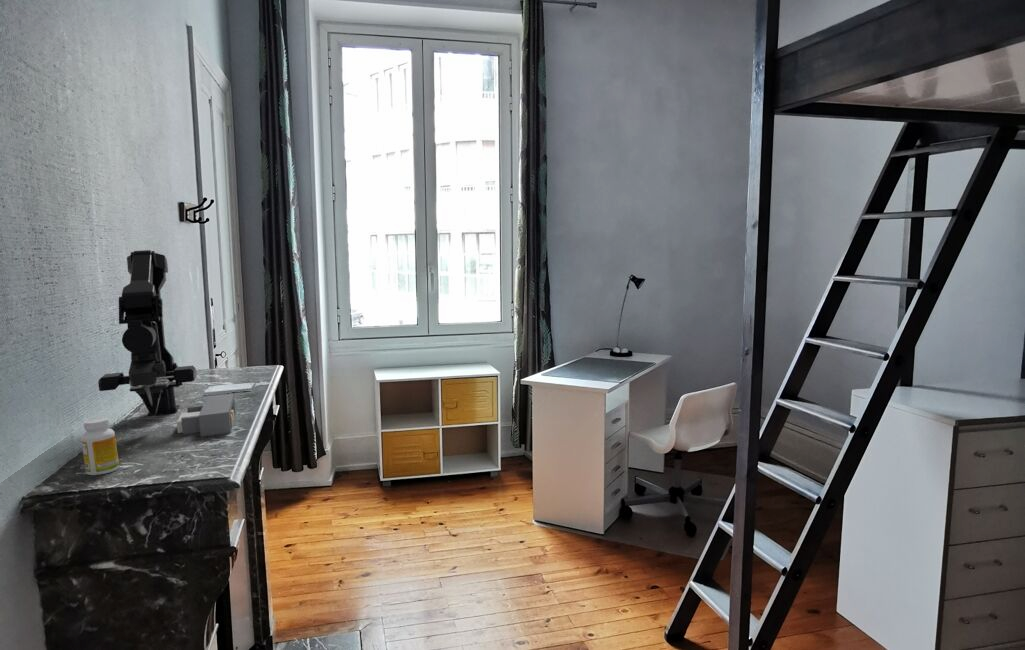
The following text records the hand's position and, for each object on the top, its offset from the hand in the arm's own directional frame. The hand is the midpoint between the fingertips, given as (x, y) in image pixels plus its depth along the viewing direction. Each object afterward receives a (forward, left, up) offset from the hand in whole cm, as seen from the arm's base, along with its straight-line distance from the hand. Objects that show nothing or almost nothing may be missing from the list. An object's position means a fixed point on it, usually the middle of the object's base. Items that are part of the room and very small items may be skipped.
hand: (153, 415), depth 153 cm
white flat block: (0, +10, -4) cm, 11 cm away
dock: (0, +11, -4) cm, 12 cm away
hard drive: (-38, +14, -4) cm, 41 cm away
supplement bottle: (+26, -5, -4) cm, 27 cm away
